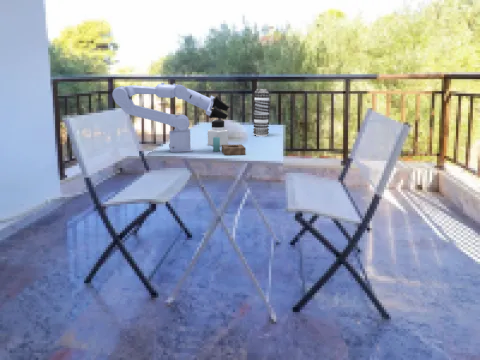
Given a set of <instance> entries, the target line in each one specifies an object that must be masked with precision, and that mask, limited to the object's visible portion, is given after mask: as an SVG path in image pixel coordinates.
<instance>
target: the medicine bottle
mask: <svg viewBox="0 0 480 360" xmlns="http://www.w3.org/2000/svg"><path fill="white" fill-rule="evenodd" d="M213 137H220V147H222V145H229V130H227V129H225V121H224V119H213V120H212V121H211V129H208V130H207V145H208V146H212V147H213Z"/></svg>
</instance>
